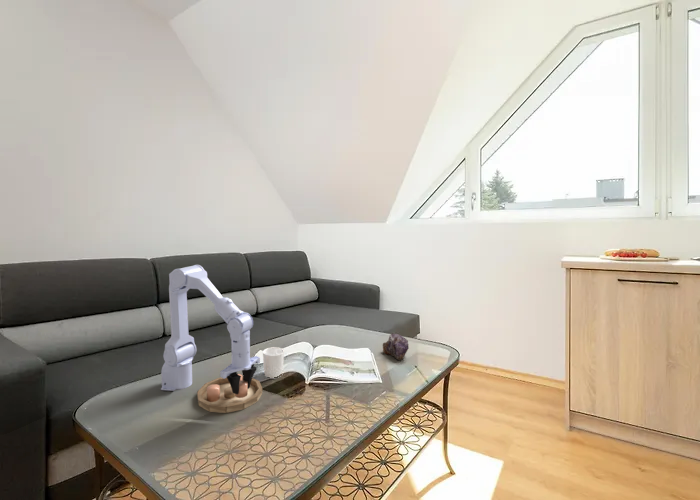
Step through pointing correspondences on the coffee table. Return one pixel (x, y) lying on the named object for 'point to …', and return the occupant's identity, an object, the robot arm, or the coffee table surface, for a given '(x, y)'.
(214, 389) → the bead
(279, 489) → the coffee table surface
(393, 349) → the rock
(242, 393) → the bead
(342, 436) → the coffee table surface
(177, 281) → the robot arm
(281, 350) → the white cup
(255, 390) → the ring tray
